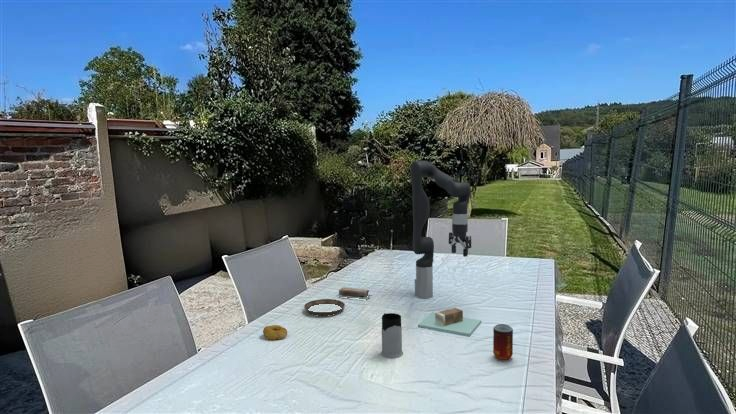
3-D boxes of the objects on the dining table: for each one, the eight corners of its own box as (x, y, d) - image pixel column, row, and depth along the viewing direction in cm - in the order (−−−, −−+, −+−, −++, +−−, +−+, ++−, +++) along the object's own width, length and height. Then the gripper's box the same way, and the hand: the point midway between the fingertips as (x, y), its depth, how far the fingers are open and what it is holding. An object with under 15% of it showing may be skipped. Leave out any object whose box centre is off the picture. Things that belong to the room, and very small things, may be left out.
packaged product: (336, 290, 243) (343, 285, 253) (336, 298, 244) (344, 293, 253) (366, 293, 237) (373, 288, 246) (366, 301, 237) (373, 296, 247)
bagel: (277, 343, 184) (276, 332, 183) (258, 338, 190) (257, 327, 189) (292, 335, 192) (292, 324, 192) (274, 331, 198) (273, 320, 198)
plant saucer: (352, 307, 228) (351, 301, 227) (332, 320, 209) (332, 314, 209) (318, 302, 236) (318, 296, 236) (296, 315, 218) (296, 308, 218)
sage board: (417, 327, 198) (417, 324, 198) (432, 314, 214) (432, 312, 214) (469, 336, 186) (469, 333, 186) (481, 322, 202) (481, 320, 202)
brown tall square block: (462, 321, 201) (442, 326, 195) (455, 318, 205) (435, 323, 199) (462, 310, 200) (442, 315, 194) (455, 307, 205) (435, 312, 199)
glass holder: (384, 359, 166) (384, 321, 165) (374, 344, 180) (373, 309, 178) (406, 356, 168) (405, 318, 167) (394, 342, 182) (393, 307, 181)
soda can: (501, 351, 171) (501, 321, 169) (516, 358, 165) (516, 327, 164) (489, 356, 167) (489, 325, 165) (504, 363, 161) (504, 331, 160)
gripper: (444, 221, 220) (444, 252, 222) (463, 225, 208) (463, 258, 210) (456, 220, 224) (455, 251, 226) (475, 223, 212) (475, 256, 214)
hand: (459, 254), depth 218 cm, fingers open, 8 cm apart
